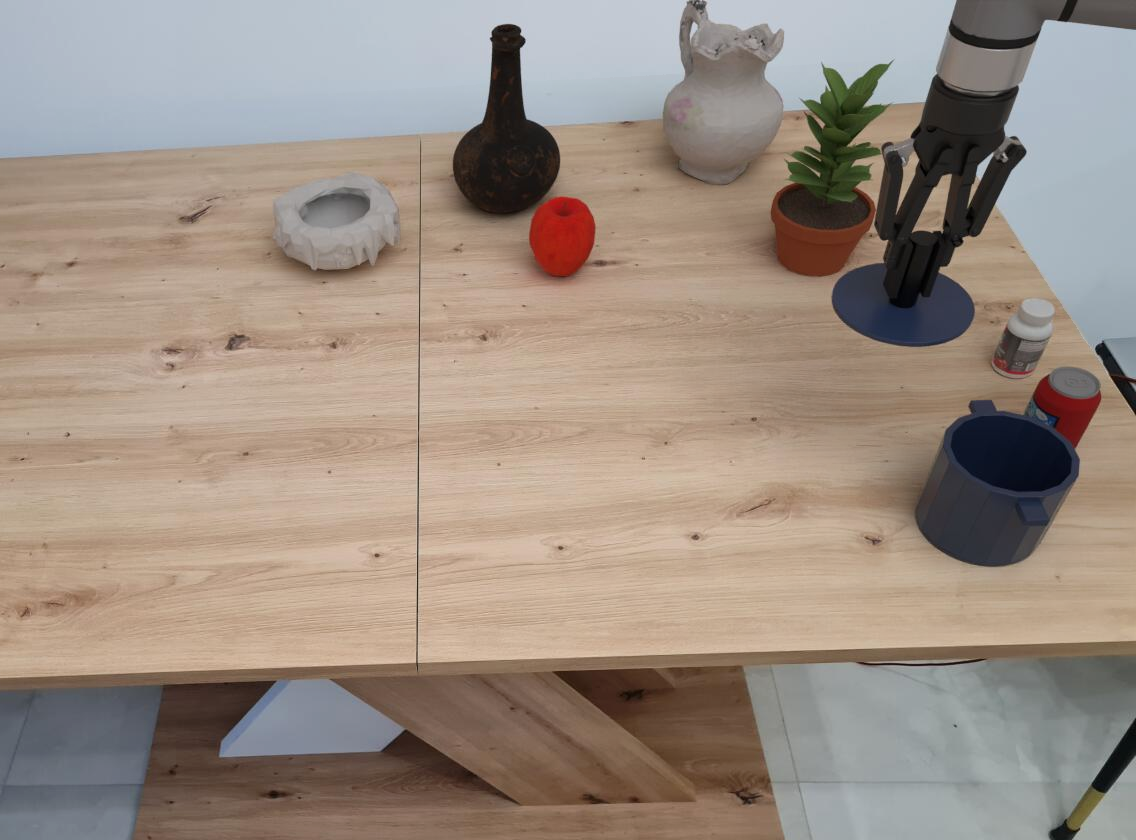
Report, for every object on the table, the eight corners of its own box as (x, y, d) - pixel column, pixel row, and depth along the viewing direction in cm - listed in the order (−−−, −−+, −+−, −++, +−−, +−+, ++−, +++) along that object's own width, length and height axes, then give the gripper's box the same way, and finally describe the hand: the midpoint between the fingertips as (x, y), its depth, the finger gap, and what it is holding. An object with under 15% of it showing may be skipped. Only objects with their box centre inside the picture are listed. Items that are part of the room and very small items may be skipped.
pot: (1009, 464, 129) (1044, 393, 121) (1066, 584, 117) (1110, 514, 108) (895, 467, 130) (922, 396, 122) (939, 586, 118) (973, 516, 109)
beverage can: (1002, 435, 133) (1038, 360, 124) (1061, 439, 131) (1100, 364, 122) (1011, 472, 128) (1048, 397, 119) (1071, 477, 127) (1113, 402, 118)
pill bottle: (984, 355, 143) (1009, 295, 136) (1025, 353, 142) (1053, 293, 135) (997, 380, 139) (1023, 320, 132) (1039, 379, 139) (1068, 319, 132)
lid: (948, 268, 121) (974, 197, 114) (989, 349, 111) (1021, 276, 105) (817, 273, 122) (835, 202, 115) (846, 353, 113) (868, 281, 106)
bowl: (303, 306, 162) (292, 250, 154) (261, 242, 174) (250, 187, 167) (425, 267, 166) (421, 211, 159) (375, 208, 179) (369, 153, 172)
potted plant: (740, 245, 164) (775, 51, 142) (826, 222, 166) (874, 29, 144) (792, 297, 154) (838, 98, 132) (882, 272, 157) (943, 73, 134)
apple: (538, 295, 159) (539, 224, 150) (520, 260, 166) (520, 189, 157) (601, 283, 160) (606, 212, 151) (581, 248, 167) (585, 178, 157)
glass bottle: (469, 236, 171) (463, 64, 150) (442, 182, 183) (433, 16, 162) (573, 215, 173) (581, 43, 152) (540, 163, 185) (543, -3, 164)
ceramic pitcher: (625, 167, 184) (629, 26, 165) (695, 117, 191) (707, -24, 171) (727, 211, 173) (745, 65, 153) (798, 156, 180) (823, 9, 160)
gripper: (1051, 56, 99) (970, 268, 117) (878, 64, 100) (824, 273, 118) (1081, 93, 94) (992, 308, 112) (899, 102, 96) (839, 313, 113)
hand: (906, 290), depth 115 cm, fingers closed on lid, 3 cm apart
